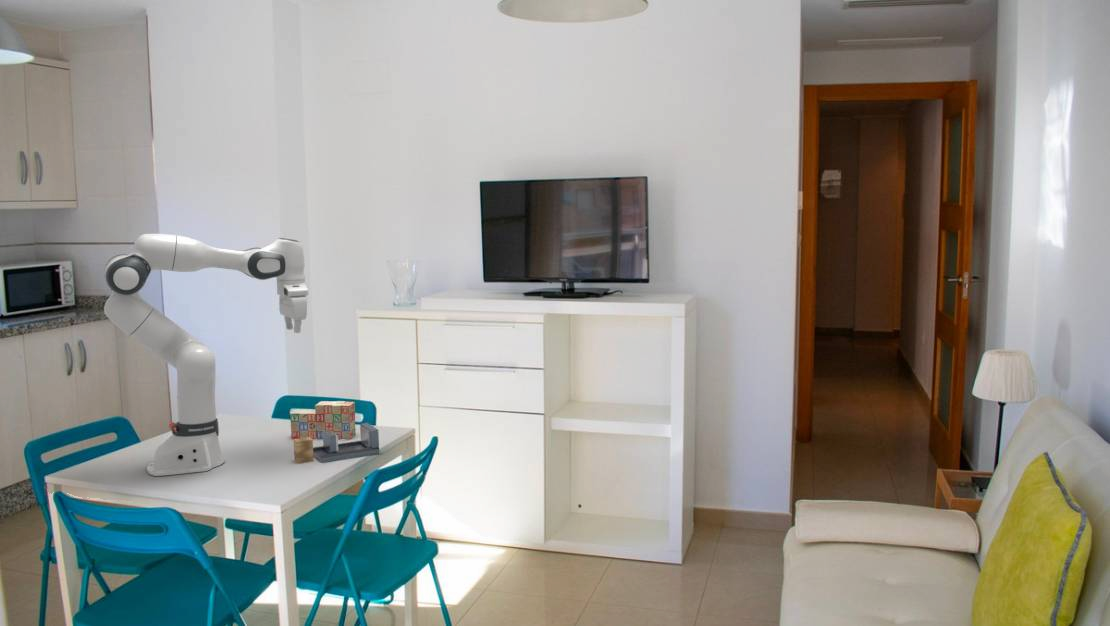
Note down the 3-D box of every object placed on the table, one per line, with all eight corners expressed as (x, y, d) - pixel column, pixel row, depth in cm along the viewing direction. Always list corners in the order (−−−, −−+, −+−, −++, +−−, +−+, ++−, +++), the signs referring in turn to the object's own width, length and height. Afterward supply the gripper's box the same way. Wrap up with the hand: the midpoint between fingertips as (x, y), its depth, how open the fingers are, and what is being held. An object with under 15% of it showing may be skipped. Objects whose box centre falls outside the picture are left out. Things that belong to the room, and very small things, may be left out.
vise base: (321, 462, 287) (320, 438, 286) (311, 454, 296) (310, 430, 295) (379, 453, 296) (378, 429, 295) (368, 446, 306) (367, 422, 305)
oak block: (297, 463, 287) (296, 441, 286) (294, 460, 290) (293, 439, 289) (313, 461, 289) (312, 439, 288) (310, 458, 293) (309, 436, 292)
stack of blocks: (290, 439, 317) (289, 404, 315) (297, 434, 323) (295, 400, 322) (350, 440, 315) (349, 405, 313) (356, 435, 321) (354, 401, 320)
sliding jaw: (330, 454, 290) (329, 436, 289) (323, 448, 297) (322, 430, 296) (338, 453, 291) (337, 435, 290) (331, 447, 298) (330, 429, 297)
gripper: (273, 286, 300) (275, 328, 302) (289, 291, 283) (291, 335, 284) (292, 285, 303) (294, 326, 305) (309, 290, 286) (311, 333, 288)
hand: (293, 331), depth 295 cm, fingers open, 8 cm apart
